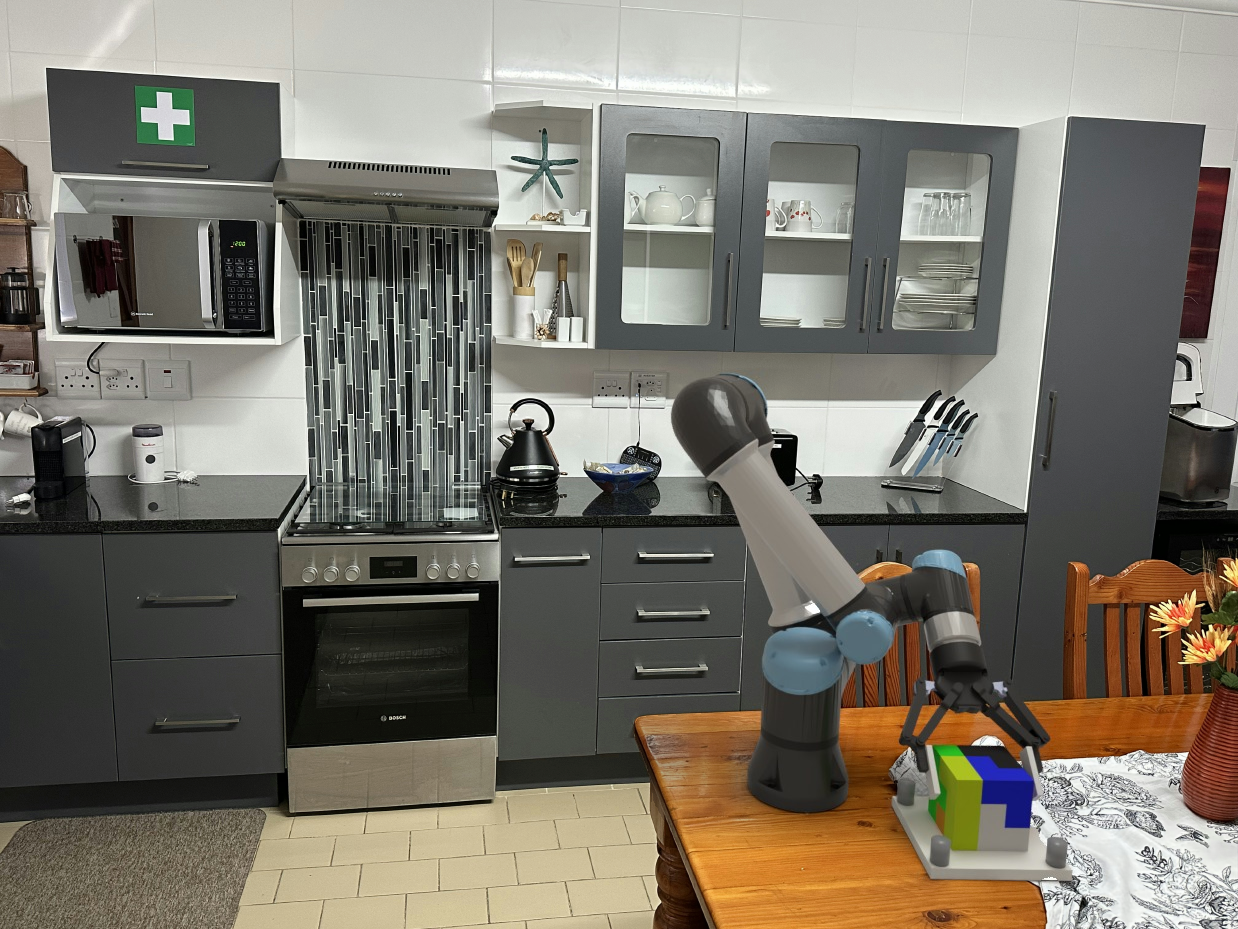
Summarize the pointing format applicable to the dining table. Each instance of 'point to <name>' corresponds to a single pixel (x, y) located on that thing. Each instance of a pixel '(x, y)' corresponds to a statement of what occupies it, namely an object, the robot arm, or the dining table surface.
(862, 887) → the dining table surface
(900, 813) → the stub base
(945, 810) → the puzzle toy
